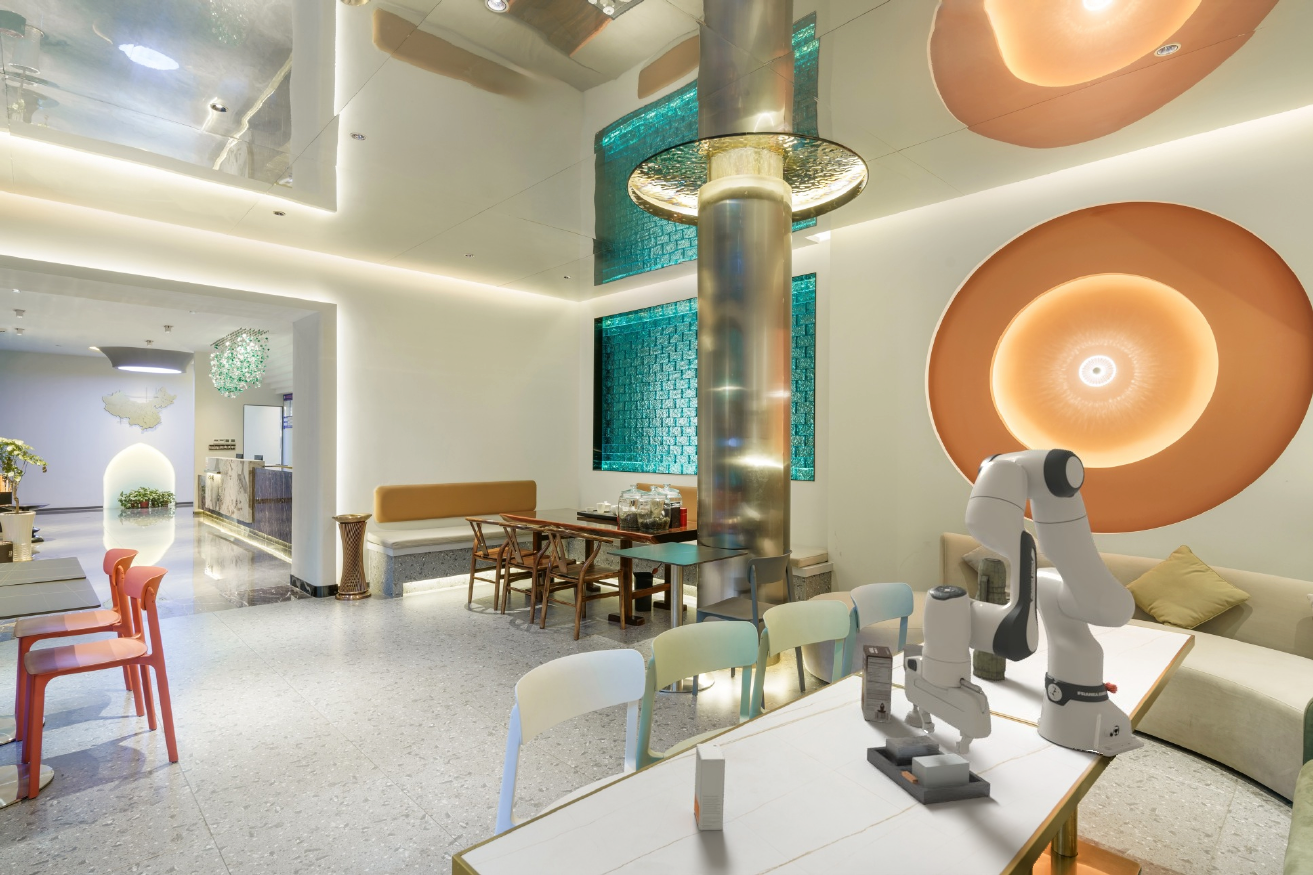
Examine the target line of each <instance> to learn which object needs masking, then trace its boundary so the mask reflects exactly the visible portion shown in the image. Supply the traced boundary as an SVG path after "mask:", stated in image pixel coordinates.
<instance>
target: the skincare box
mask: <svg viewBox="0 0 1313 875" xmlns="http://www.w3.org/2000/svg"><path fill="white" fill-rule="evenodd" d="M695 754H696V755H695V774H694V775H695V778H694V800H693V801H694V802H693V803H694V804H693V805H694V806H693V811H694V815H695V818H696V819H695V820H696V822H697V823H696V824H697V826H698V830H699V831H722V830H723V828H724V827H723V826H724V806H725V805H724V801H725V800H724V798H725V778H726V777H725V774H726V773H725V771H726V770H725V768H726V759H725V756H724V752H723V750H722V748H721V745H720V744H719V743H697V744H696V751H695Z"/></svg>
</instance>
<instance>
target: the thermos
mask: <svg viewBox="0 0 1313 875" xmlns="http://www.w3.org/2000/svg"><path fill="white" fill-rule="evenodd" d="M977 569H978V570H977V572H978V574H977V584H978V586H977V587H978V588H977V592H976V594H975V597H974V600H978V601H981V602H987V603H992V604H997V605H1007V604H1008V603H1009V601H1008V599H1007V596H1006V593H1007V592H1006V587H1007V568H1006V565H1005V562H1004V561H1002V559H998V558H991V557H990V558H989V557H988V558H987V557H986V558H982V559H981V560H980V563H979V565H978V568H977ZM1006 668H1007V659H1006V658H1003V657H1000V656H997V655H995V654H992V653H988V652H984V651H980V650H976V649H973V652H972V670H973V671H972V675H973V676H974V677H976V678H978V679H980V680H984V681H989V682H1004V681H1005V678H1006V676H1005V675H1006V671H1007V669H1006Z"/></svg>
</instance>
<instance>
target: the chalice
mask: <svg viewBox="0 0 1313 875" xmlns="http://www.w3.org/2000/svg"><path fill="white" fill-rule="evenodd" d="M923 646H924V645H923V644H922V645H921V644H916V643H915V644H914V643H905V644H902V645H901V647H902V648H901V649H902V650H903V660H902V661H903V662H902V663H903V664H902V665H903V670H904V673H905V672H906V670H907V669H908V668H907V667H906V666H905V658H906V657H912V656H921V655H922V649H923ZM903 722H904V723H905V724H906V725H909V726H912V727H915V728H916V727H917V728H922V720H921V717H920V714H919V712H918V706H916V705H915V704H913V703H912V709H911V710H910V711H908V712H907V713H906V716H905V718H904V720H903Z"/></svg>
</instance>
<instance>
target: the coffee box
mask: <svg viewBox="0 0 1313 875" xmlns="http://www.w3.org/2000/svg"><path fill="white" fill-rule="evenodd" d="M862 646H863V647H862V667H861V668H862V670H861V673H862V675H861V698H860V699H861V700H860V702H861V703H860V708H861V711H862V715H863V719H866V720H865V721H868V720H870V721H869V722H877V721H882V722H881V723H885V722H887V724H890V723H891V713H892V712H891V711H892V710H891V709H892V705H891V704H892V688H893V687H892V684H893V666H894V665H893V663H894V661H893V660H894V657H893V655H892V652H891V649H890V647H889V646H882V645H871V644H870V645H869V644H863V645H862Z"/></svg>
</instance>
